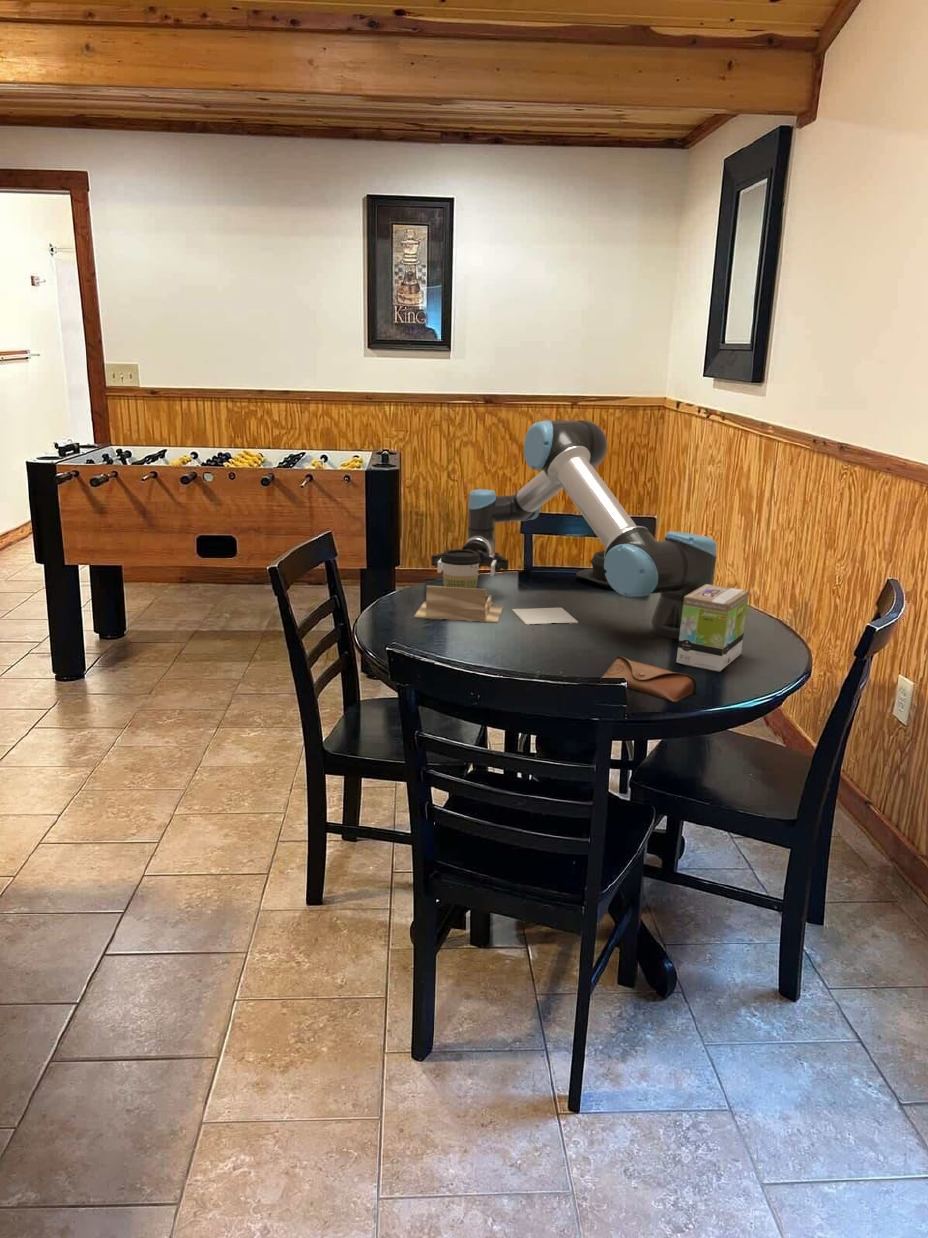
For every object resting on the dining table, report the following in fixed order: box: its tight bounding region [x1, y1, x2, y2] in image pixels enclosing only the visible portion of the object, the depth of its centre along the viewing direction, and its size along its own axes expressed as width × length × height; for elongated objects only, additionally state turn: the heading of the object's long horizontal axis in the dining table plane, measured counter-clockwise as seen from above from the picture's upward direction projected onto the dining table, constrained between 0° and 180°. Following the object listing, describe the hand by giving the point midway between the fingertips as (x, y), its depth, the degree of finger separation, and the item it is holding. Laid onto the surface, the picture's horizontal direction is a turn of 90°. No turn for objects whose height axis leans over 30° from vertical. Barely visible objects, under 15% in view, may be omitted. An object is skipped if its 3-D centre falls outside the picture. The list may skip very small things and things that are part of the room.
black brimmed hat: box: [575, 550, 613, 589], centre depth 259 cm, size 25×19×8 cm
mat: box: [511, 607, 579, 626], centre depth 226 cm, size 13×13×1 cm
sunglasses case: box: [601, 656, 697, 703], centre depth 180 cm, size 18×7×7 cm
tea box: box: [675, 584, 750, 672], centre depth 195 cm, size 15×10×15 cm
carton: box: [413, 585, 504, 624], centre depth 228 cm, size 17×20×8 cm
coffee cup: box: [441, 548, 481, 589], centre depth 225 cm, size 10×10×15 cm
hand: (465, 569), depth 234 cm, fingers open, 13 cm apart
